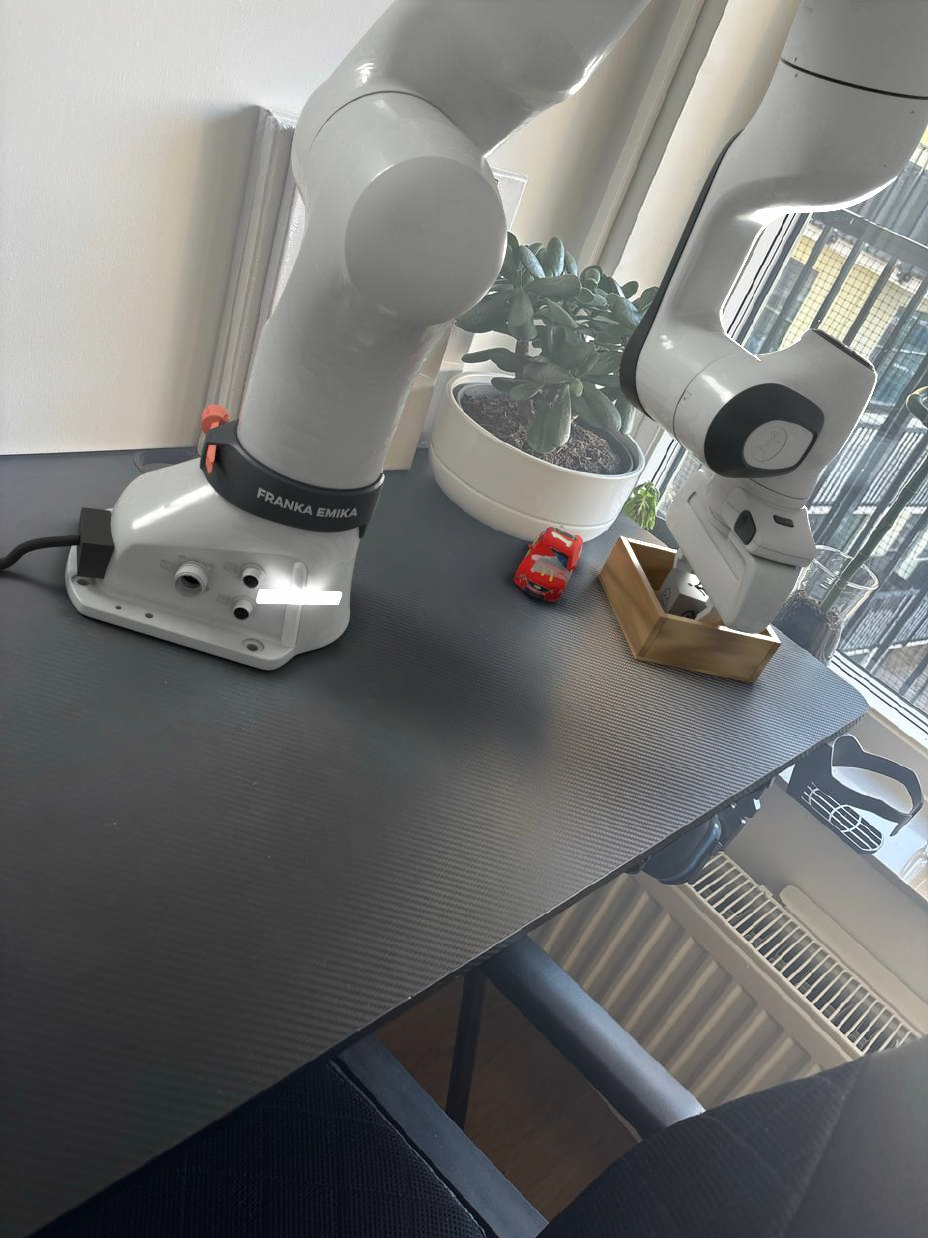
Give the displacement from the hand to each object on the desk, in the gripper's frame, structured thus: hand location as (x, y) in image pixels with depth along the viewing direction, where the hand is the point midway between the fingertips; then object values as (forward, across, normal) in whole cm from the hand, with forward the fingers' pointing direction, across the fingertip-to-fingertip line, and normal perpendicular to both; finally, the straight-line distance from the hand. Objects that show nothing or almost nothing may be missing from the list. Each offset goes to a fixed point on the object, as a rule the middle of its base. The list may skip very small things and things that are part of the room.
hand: (684, 610), depth 98 cm
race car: (+3, -5, -14) cm, 15 cm away
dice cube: (+2, 0, 0) cm, 2 cm away
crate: (+2, 0, 0) cm, 2 cm away
